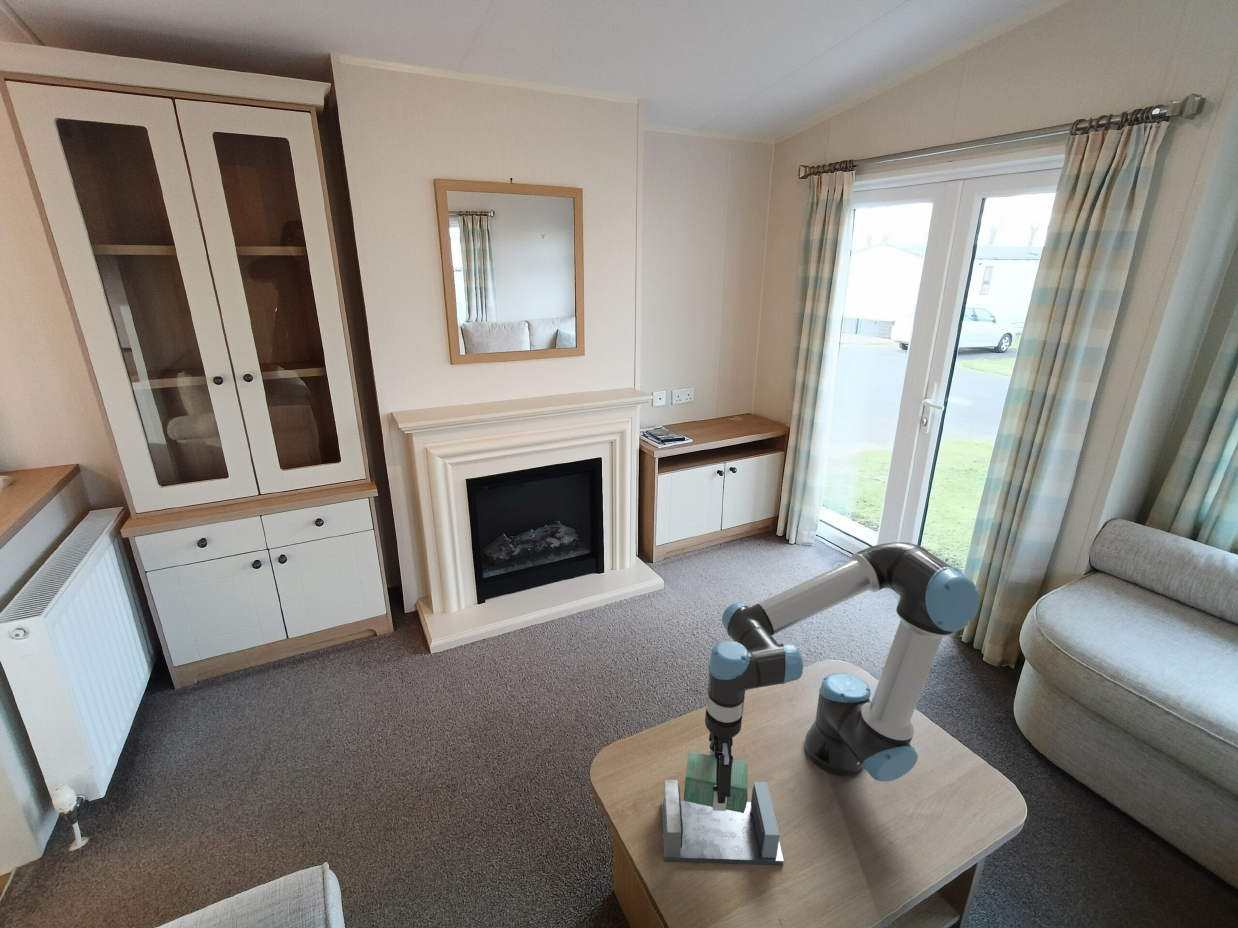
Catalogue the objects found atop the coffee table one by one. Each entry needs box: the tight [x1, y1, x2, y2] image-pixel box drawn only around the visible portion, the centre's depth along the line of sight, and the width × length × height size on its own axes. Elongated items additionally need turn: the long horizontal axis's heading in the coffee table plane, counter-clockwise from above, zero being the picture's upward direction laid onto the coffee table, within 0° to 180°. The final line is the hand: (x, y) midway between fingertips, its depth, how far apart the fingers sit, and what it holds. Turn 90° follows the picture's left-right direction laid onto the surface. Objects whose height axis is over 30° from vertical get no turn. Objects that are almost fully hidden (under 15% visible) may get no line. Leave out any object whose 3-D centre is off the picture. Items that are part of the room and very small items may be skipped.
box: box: [683, 751, 749, 813], centre depth 125 cm, size 7×14×8 cm, turn 78°
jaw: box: [750, 781, 781, 858], centre depth 129 cm, size 3×13×7 cm, turn 178°
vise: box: [660, 779, 785, 867], centre depth 129 cm, size 26×14×8 cm, turn 88°
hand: (716, 790), depth 126 cm, fingers closed on box, 8 cm apart
